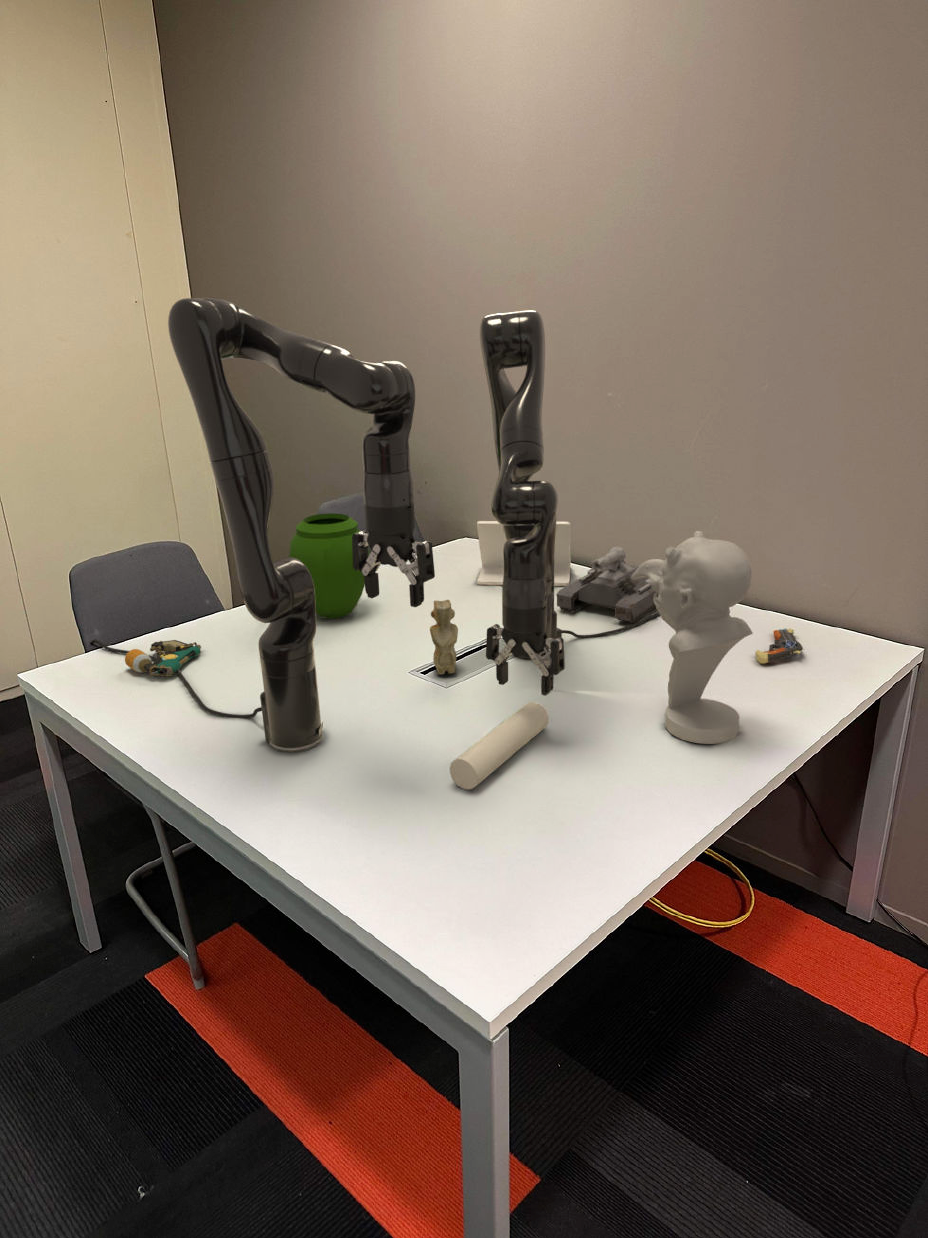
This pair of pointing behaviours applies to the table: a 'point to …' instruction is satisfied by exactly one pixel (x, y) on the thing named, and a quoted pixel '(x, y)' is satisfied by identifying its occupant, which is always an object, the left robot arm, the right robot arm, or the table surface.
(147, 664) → the spray gun
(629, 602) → the toy
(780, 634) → the toy gun
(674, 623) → the bust sculpture
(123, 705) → the table surface
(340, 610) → the vase
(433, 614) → the sculpture
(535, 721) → the rod
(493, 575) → the tablet stand
